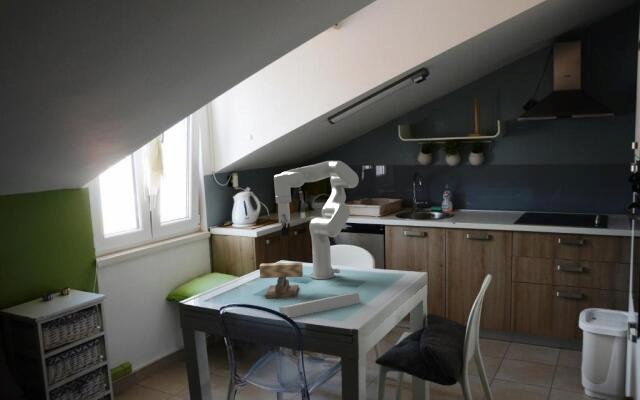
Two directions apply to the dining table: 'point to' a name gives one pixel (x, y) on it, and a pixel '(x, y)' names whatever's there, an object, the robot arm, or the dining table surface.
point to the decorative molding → (320, 304)
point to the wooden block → (281, 270)
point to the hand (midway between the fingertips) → (286, 233)
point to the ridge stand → (282, 289)
